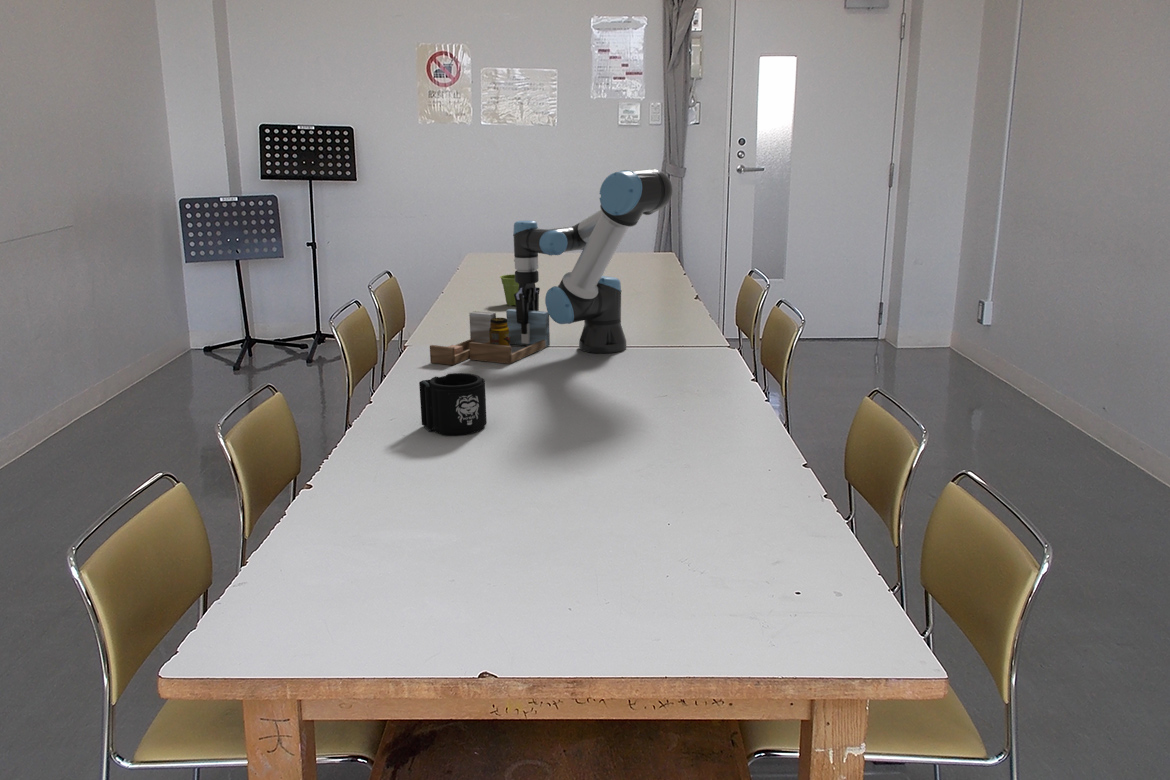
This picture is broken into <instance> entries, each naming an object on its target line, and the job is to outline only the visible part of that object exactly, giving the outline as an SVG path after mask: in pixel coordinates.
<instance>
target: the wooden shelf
mask: <svg viewBox="0 0 1170 780" xmlns="http://www.w3.org/2000/svg"><path fill="white" fill-rule="evenodd" d="M505 311H506V312H505V313H506V316H505V317H506V319H507V324H508V328H509V346H506V345H496V344H486V343H476V342H470V343H469V347H470V348H469V349H470V358H469V359H470V360H472V361H473V360H474V361H481V362H490V363H501V364H507V365H508V364H509V365H510V364H513V363H515V362H517V361H519V360H521V359H523V358H526V357H528V356H530V355H532V354H534V353H538V352H539V351H541V350H543V349H545V348H547V347H550V346H551V337H550V334H551V333H550V315H549V314H548V311H544V310H539V311H532V310H529V311H528V324H529V326H530V344H525V343H522V342H521V324H519V323H517V316H516V308H508V309H506V310H505ZM512 345H519V346H526V347H523V348H521V349H519V350H516V351H514V352H512V350H513V349H512Z"/></svg>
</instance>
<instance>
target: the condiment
mask: <svg viewBox="0 0 1170 780" xmlns="http://www.w3.org/2000/svg"><path fill="white" fill-rule="evenodd" d="M490 322H491V323H490V328H489V336H490V344H496V345H506V346H510V344H509V328H508V324H507V317H496V318H492V319H491V320H490Z"/></svg>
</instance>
